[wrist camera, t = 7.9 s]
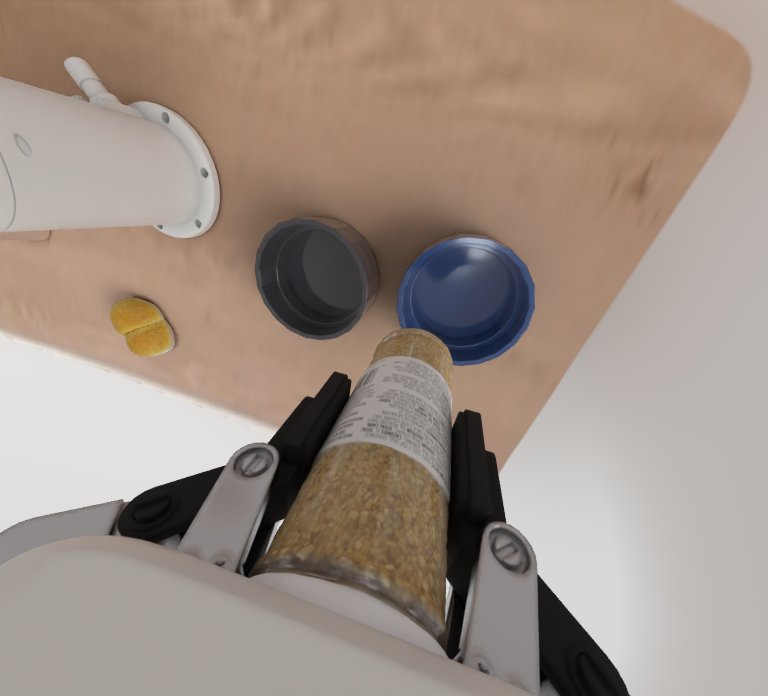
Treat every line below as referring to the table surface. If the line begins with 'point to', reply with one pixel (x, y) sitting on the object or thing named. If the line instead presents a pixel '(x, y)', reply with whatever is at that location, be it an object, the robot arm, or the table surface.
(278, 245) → the charcoal bowl
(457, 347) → the navy bowl
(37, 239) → the beer glass
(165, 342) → the bread roll
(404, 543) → the sprinkles bottle
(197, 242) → the table surface
